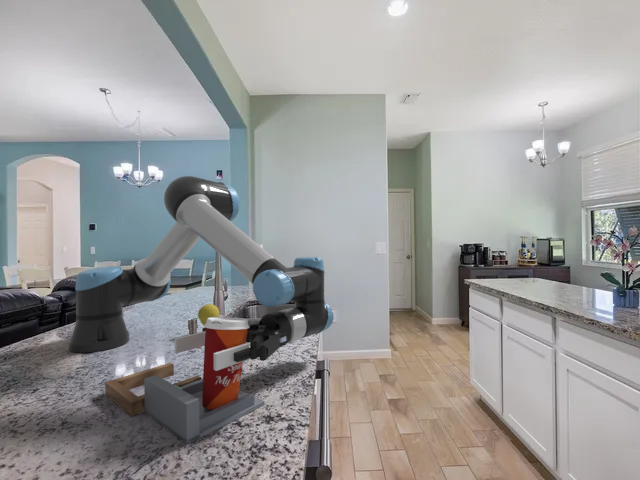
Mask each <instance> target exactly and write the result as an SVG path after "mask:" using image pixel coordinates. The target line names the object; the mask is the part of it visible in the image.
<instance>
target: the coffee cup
mask: <svg viewBox="0 0 640 480" xmlns="http://www.w3.org/2000/svg"><path fill="white" fill-rule="evenodd" d="M249 325H250V324H249V320H248V319H247V318H243V317H236V316H235V317H234V316H218V317H211V318H208V319H207V322H206V324H205V325H203V328H206V329H205V346H204V352H203V370H202V371H203V375H202V379H203V392H202V406H203V407H204V408H205V409H208V410H214V409H216V408H218V407H221V406H223V405H225V404H227V403H229V402H231V401H234V400H236V399H238V393H239V390H240V386H241V384H240V383H241V379H242V378H241V377H242V373H243V372H242V371H243V364H244V361H243V362H240V363H237V364H234V365H232V366H229V367H226V368H223V369H220V370H218V371H215V370H214V353H216V352H220V351H223V350H226V349H229V348H233V347H236V346H239V345H242V344H247V343H246V337H247V330H248V328H250V327H249Z"/></svg>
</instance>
